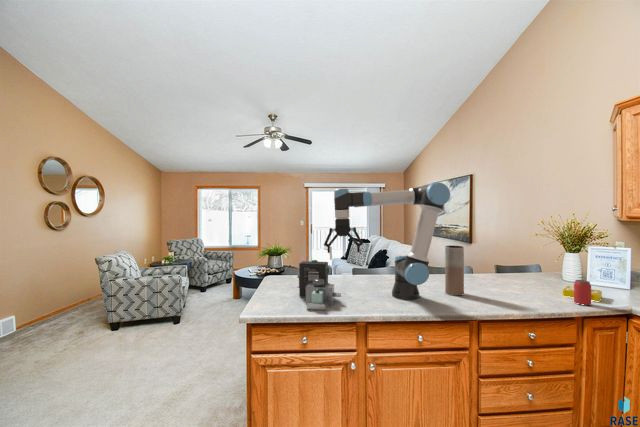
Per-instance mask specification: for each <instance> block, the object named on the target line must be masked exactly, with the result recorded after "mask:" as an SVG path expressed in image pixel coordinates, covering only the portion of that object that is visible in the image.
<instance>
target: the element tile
mask: <svg viewBox="0 0 640 427" xmlns="http://www.w3.org/2000/svg"><path fill="white" fill-rule="evenodd" d="M602 293H603V291H602V290H599V289H593V288H591V300H595V301H599V300H600V299H601V297H602V298H603V294H602ZM563 295H564V296H570V297H574V285H573V286H572V285H568V286H565V287H564V288H562V296H563ZM601 300H602V299H601ZM601 300H600V301H601Z"/></svg>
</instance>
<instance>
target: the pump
mask: <svg viewBox="0 0 640 427" xmlns="http://www.w3.org/2000/svg"><path fill="white" fill-rule="evenodd" d="M312 303H317V304H323V291H319V289H315V290H314V291H313V292H312Z"/></svg>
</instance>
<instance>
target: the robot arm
mask: <svg viewBox="0 0 640 427" xmlns="http://www.w3.org/2000/svg"><path fill="white" fill-rule="evenodd" d="M333 194H334V195H333V196H334V197H333V198H334V199H333V201H334V202H333V203H334V218H335V219H334V223H335V227H330V228H329V229H328V230H329V232H328V234H327V237H326V239H325V241H324V243H323V246H324V247H326V248H327V253H328V254H329V260H333V252H332V251H333V250H332V246H331V245H332V244H333V243H334V242H335V240H336V239H337V238H338V237H348V238H349V239H350V240H351V241H352V242H353V243H354V244H355V245H356V246H355V259H356V260H359V257H358V255H359V254H358V253H360V250H361V248H360V247H361V246H363V245H364V243H363V241H362V238H361V237H360V235H359V234H358V232H357V227H355V226H354V227H351V223H350V222H351V221H350V219H349V218H350V207H353V208H359V207H360V208H363V207H372V206H374V207H375V206H388V205H402V204H403V205H405V204H406V205H407V204H410V205H412V206H414V205H415V206H417V205H418V206H419V207H420V209H421V211H420V215H419V219H418V223H417V226H416V230H415V234H414V237H413V241H412V244H411V249H410V252H409V253H408V254H406V255H397V256H395V257H394V283H393V284H394V285H393V287H392V290H391V296H392V297H394V298H396V299H401V300H407V299H412V300H417V299H416V298H418V299H419V298H420V291H419V288H418V286H420V285H423V284H425V283H427V281H428V280H429V277H430V270H429V264H430V260H429V259H428V254H429V250H430V247H431V243H432V239H433V236H434V232H435V229H436V224H437V221H438V217H439V214H440V213H441V212H443V210H444V207H445V205H446V204H447V203H448V202H449V200H450V198H451V190H450V189H449V186H447V184H445V183H444V182H438V181H437V182H436V181H435V182H431V183H428V184H424V185H422V186H417V187H410V188H409V189H405V190H392V191H391V190H390V191H378V192H370V191H357V192H350V191H349V189H348V188H336V189H335V190H334V192H333ZM334 232H335V233H336V234H335V235H334V236H333V237H332V239H331V240H330V238H331V236H332V234H333V233H334ZM350 232H353V233H354V235H355V237H356V238H354V237H353V236H352V234H351V233H350ZM356 239H357V240H358V241H357V240H356ZM329 240H330V241H329Z"/></svg>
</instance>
